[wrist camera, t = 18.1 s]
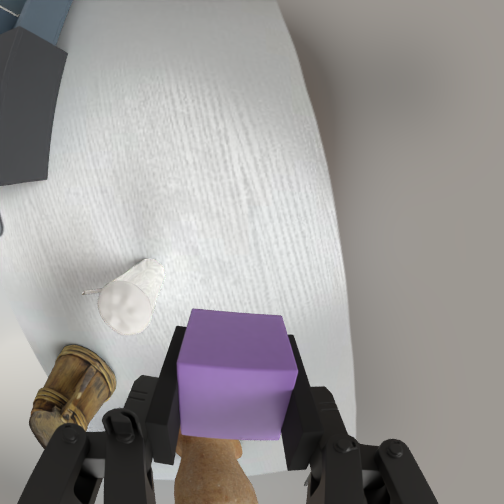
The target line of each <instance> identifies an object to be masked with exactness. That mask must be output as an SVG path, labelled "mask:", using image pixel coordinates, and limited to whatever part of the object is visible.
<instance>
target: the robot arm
mask: <svg viewBox="0 0 504 504" xmlns="http://www.w3.org/2000/svg"><path fill="white" fill-rule="evenodd" d="M186 328H187V327H183V326H176V329H175V332H174V334H173V337H172V340H171V343H170V346H169V349H168V352H167V355H166V358H165V361H164V364H163V367H162V370H161V373H160V376H159V378H157V377H151V376H145V375H141V376H140V377H139V378H138V379H137V380H136V381H134V384H133V386H132V388H131V391H130V393H129V396H128V398H127V401H126V403H125V406H124V408H117V409H112V410H110V411H108V412H107V413H106V414H105V415H104V416H103V419H102V422H103V425H104V428H105V431H103V432H86V431H85V430H84V429H83V428H82V426H80V425H78V424H75V423H64V424H62V425H60V426H59V427H58V428H57V429H56V430H55V432H54V433H53V435H52V437H51V439H50V440H49V442H48V444H47V446H46V448H45V450H44V451H43V453H42V455H41V457H40V459H39V461H38V463H37V465H36V466H35V469H34V470H33V473H32V474H31V476H30V478H29V480H28V482H27V484H26V486H25V488H24V491H23V493H22V495H21V497H20V499H19V501H18V503H17V504H94V503H95V500H96V497H97V494H98V491H99V488H100V485H101V482H102V479H103V478H104V504H156V502H155V493H154V483H153V472H152V468H151V463H152V459H154V462H157V463H162V464H169V465H173V464H174V458H175V452H176V446H177V440H178V435H179V429H180V413H179V398H178V381H177V360H178V356H179V353H180V349H181V345H182V342H183V338H184V335H185V331H186ZM288 338H289V341H290V345H291V348H292V352H293V355H294V358H295V362H296V365H297V369H298V374H297V378H296V382H295V386H294V389H293V390H292V394H291V397H290V401H289V404H288V408H287V412H286V415H285V419H284V422H283V425H282V429H281V434H282V440H283V446H284V452H285V458H286V464H287V469H288V471H291V470H305V469H307V467H308V465H309V463H310V467H311V473H310V474H309V476H308V478H307V480H306V482H305V484H304V486H307V484H308V491H307V502H306V504H438V502H437V500H436V498H435V496H434V494H433V492H432V491H431V488H430V487H429V485H428V483H427V481H426V479H425V477H424V475H423V473H422V472H421V470H420V468H419V466H418V464H417V463H416V461H415V459H414V457H413V455H412V453H411V452H410V450H409V448H408V447H407V445H406V444H405V443H403V442H402V441H400V440H396V439H388V440H386V441H383V443H382V444H381V445H380V446H371V445H363V444H360V443H358V442H357V440H356V439H355V438H354V437H352V436H350V435H348V433H347V431H346V428H345V426H344V423H343V421H342V418H341V416H340V413H339V410H338V408H337V405H336V403H335V400H334V398H333V395H332V393H331V392H330V391H329V390H328V389H327V388H326V387H325V386H323V387H310V384H309V381H308V378H307V375H306V372H305V369H304V366H303V363H302V360H301V357H300V353H299V350H298V347H297V344H296V341H295V338H294V335H288Z"/></svg>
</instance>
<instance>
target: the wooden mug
mask: <svg viewBox="0 0 504 504" xmlns="http://www.w3.org/2000/svg"><path fill="white" fill-rule="evenodd" d="M115 389H116V378H115V375H114V373H113V372H112V370H111V368H110V367H109V366H108V365H107V364H106V363H105V361H103V360H102V359H101V358H100V357H99V356H98V355H97V354H96V353H94V352H92V351H91V350H89V349H87V348H84V347H82V346H78V345H69V346H65V347H64V348H63V350H62V351H61V353H60V354H59V356H58V357H57V359H56V361H55V366H54V367H53V369H52V371H51V373H50V375H49V377H48V379H47V381H46V383H45V385H44V387H43V388H41V389H40V390H39V391H38V393H37V396H36V398H35V400H34V402H33V409H32V411H31V417H30V420H29V426H30V428H31V430H32V432H33V434H34V435H35V437H36V438H37V440H38V442H39V443H40V444H41V446H42V447H43V448H44V449H45V448H46V446H47V444H48V442H49V440H50V439H51V437H52V435H53V433H54V432H55V430H56V429H57V428H58V427H59V426H60V425H62V424H64V423H75V424H78V425H80V426H82V428H83V429H84V430H85V431H86V430H87V426H88V424H89V423H90V421H91V420H92V418H93V417H94V415H95V414H96V413H97V411H98V410H99V409H100V407H101V406H102V405H103V403H104V402H106V401H107V400H109V398H110V397H111V395H112V394H113V392H114V391H115Z"/></svg>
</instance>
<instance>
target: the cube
mask: <svg viewBox="0 0 504 504" xmlns="http://www.w3.org/2000/svg"><path fill="white" fill-rule="evenodd" d="M297 374H298V369H297V365H296V362H295V358H294V355H293V352H292V348H291V345H290V341H289V338H288V335H287V331H286V328H285V325H284V321H283V318H282V316H281V315H265V314H250V313H237V312H225V311H214V310H204V309H192V311H191V314H190V318H189V321H188V324H187V328H186V331H185V335H184V338H183V342H182V345H181V349H180V353H179V356H178V360H177V381H178V398H179V413H180V427H181V434H182V435H188V436H197V437H207V438H219V439H236V440H279V438H280V435H281V429H282V425H283V422H284V419H285V415H286V412H287V408H288V404H289V401H290V397H291V394H292V390H293V389H294V386H295V382H296V378H297Z"/></svg>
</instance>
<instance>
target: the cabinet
mask: <svg viewBox="0 0 504 504" xmlns="http://www.w3.org/2000/svg"><path fill="white" fill-rule="evenodd" d="M67 55H68V53H66V52H64V51H63V50H61V49H60V48H58V47H56V46H54V45H53V44H51V43H49V42H48V41H46V40H44V39H42V38H41V37H39V36H37V35H35V34H34V33H32V32H30V31H28V30H26V29H25V28H23V27H21V26H18V27H16V28H14V29H11V30H9V31H7V32H5V33H2V34H0V186H4V185H10V184H17V183H24V182H31V181H39V180H47V176H48V161H49V150H50V141H51V133H52V125H53V119H54V113H55V107H56V101H57V96H58V91H59V87H60V82H61V78H62V74H63V70H64V66H65V62H66V58H67Z"/></svg>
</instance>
